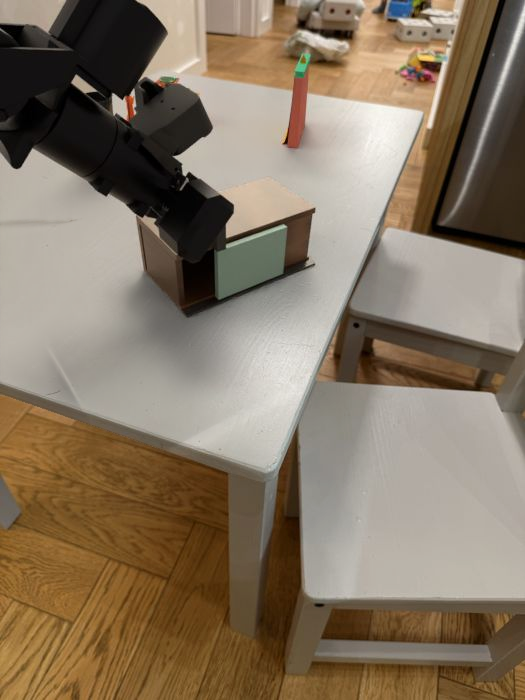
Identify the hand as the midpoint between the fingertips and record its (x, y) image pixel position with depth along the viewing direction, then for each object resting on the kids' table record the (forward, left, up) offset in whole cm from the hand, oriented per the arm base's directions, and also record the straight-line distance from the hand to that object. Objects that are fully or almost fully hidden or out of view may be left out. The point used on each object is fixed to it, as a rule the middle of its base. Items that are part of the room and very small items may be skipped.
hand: (212, 224), depth 54 cm
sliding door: (+2, +5, -10) cm, 12 cm away
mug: (-35, +22, -11) cm, 43 cm away
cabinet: (-3, +8, -11) cm, 14 cm away
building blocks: (-30, +47, -11) cm, 57 cm away
